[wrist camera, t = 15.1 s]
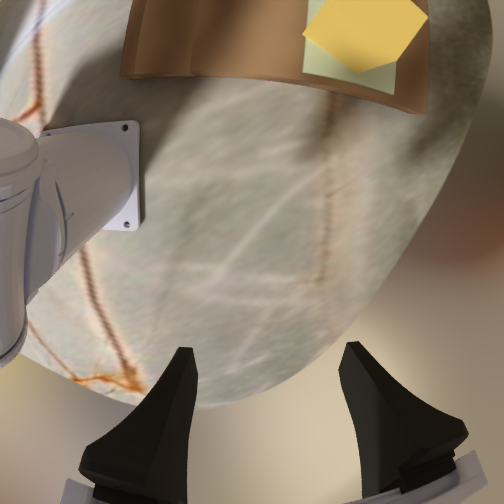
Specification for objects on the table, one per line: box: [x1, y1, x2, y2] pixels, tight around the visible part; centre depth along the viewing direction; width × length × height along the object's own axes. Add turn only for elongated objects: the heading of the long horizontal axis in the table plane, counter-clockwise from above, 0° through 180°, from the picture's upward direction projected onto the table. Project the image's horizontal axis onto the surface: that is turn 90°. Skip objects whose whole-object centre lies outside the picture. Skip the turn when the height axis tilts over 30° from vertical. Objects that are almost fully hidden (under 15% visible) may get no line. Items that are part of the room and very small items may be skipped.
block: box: [302, 0, 428, 74], centre depth 10 cm, size 4×4×5 cm
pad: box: [302, 0, 396, 95], centre depth 12 cm, size 6×6×1 cm
